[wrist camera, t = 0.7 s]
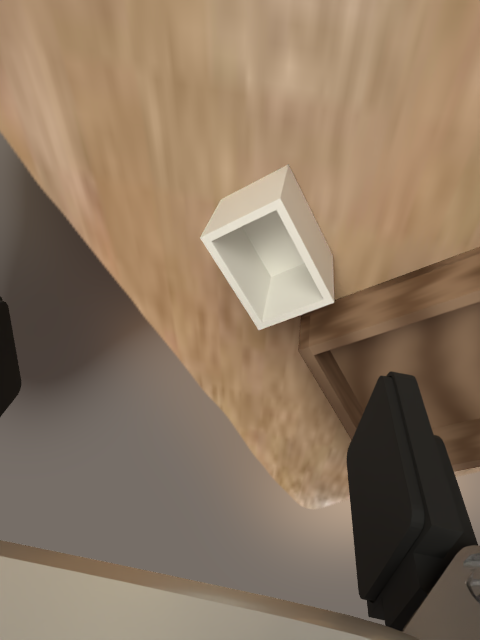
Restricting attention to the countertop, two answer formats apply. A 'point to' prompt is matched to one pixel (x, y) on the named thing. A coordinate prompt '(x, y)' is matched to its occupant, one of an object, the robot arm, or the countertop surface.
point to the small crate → (271, 249)
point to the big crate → (406, 348)
